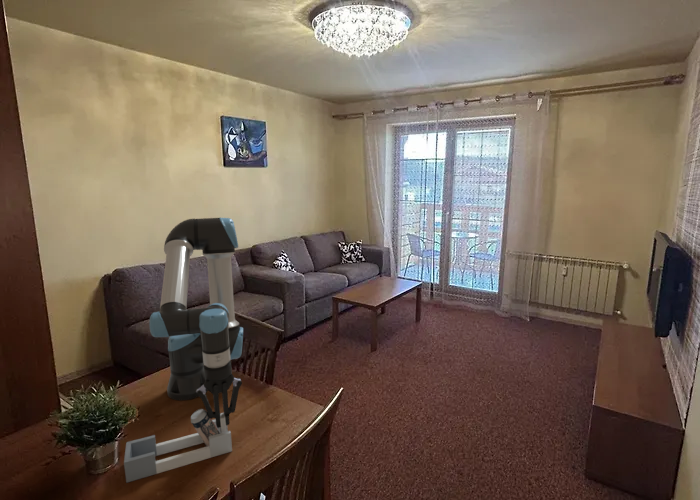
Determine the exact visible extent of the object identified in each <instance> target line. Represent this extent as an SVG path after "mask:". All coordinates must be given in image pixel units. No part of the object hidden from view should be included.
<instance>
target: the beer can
mask: <svg viewBox="0 0 700 500" xmlns="http://www.w3.org/2000/svg"><path fill="white" fill-rule="evenodd" d="M212 420H213V418H212V419H210V418H209V415H208V413H207V411H206V409H204V408H199V409H197V410H195V411H194V412H193V413H192V414H191V416H190V423H191V424H192V426H193V427H194V429H195V431H196V433H198V434H199V435H200V437H201V439H202V440H203V442H204V445H205V447H207V446H209V436H213V435H216V434H220V433H219V431H218V429H217V428H216V426H215V424H214V423H213V421H212Z"/></svg>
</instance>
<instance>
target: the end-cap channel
mask: <svg viewBox="0 0 700 500" xmlns="http://www.w3.org/2000/svg"><path fill="white" fill-rule="evenodd" d="M212 421H213V423H214V424H215V426H216V419H215V418H213V419H212ZM216 428H217V426H216ZM217 429H218V431H219V433H220V434H216V435H213V436H209V446H204V447H200V448H197V449H194V450H191V451H187V452H183V453H180V454H177V455H173V456H169V457H166V458H162V459H159V460H158V459H157V460H156V457H157V456H161V455H165V454H168V453H173V452H175V451H179V450H182V449H185V448H190V447H193V446H197V445H200V444H203V443H204V442H203V440H202V439H201V437H200V435H199V434H198V432H196V433H192V434H188V435H185V436H181V437H178V438H173V439H170V440H166V441H162V442H158V443H156V442H157V441H156V435H155V434H152V435H149V436H145V437H142V438H138V439H134V440H129V441H127V442H126V444H125V450H124V451H125V452H124V457H123V458H124V460H123V468H124V474H125V482H126V484H127V483H130V482H131V483H132V482H134V481H137V480H141V479H143V478H147V477H150V476H153V475H158V474H160V473H163V472H167V471H170V470H174V469H177V468H180V467H184V466H187V465H190V464H193V463H197V462H201V461H204V460H207V459H211V458H213V457H217V456H222V455H225V454H227V453H231V452H233V445H232V444H233V443H232V432H231V430H228V425H226V432H223V433H221V430H220V427H219V428H217ZM204 444H205V443H204Z"/></svg>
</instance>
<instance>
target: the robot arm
mask: <svg viewBox="0 0 700 500" xmlns="http://www.w3.org/2000/svg"><path fill="white" fill-rule="evenodd" d="M238 248H239V243H238V238H237V232H236V227H235V222H234V220H233V219H232V218H229V217H210V218H209V217H208V218H207V217H206V218H205V217H204V218H187V219H185V220H183V221H180V222H179V223H177V225H175V226H174V228H172V229H171V230H170V232H169V234H167V236H166V238H165V241H164V245H163V252H164V254H165V255H166V257H165V263H164V264H165V265H164V272H163V281H162V287H161V288H162V289H161V297H160V306H159V311H154V312H152V313H151V315H150V316H149V321H148V322H149V324H148V325H149V331H150V335H151V336H152V337H154V338H168V340H167V351H168V359H169V369H170V370H169V371H170V376H169V380H168V383H167V388H166V390H167V396H168V398H170V399H172V400H173V401H188V400H193V399H197V398H200V399H201V401H202V403H203V405H204V408H205V410H206V411H207V413H208V415H209V418H210V419H212V420H213V419H216V426H217V428H219V427H220V430H221V433H223V432H226V425H227V426H229V425H230V414H231V413H232V414H233V413H235V411H236V409H237V408H236V407H237V402H238V396H239V390H240V389H241V386H242V384H243V382H242V380H241V378H240V377H237V378H236V377H235V376H234V375H233V369H232V361H231V360H236V359H239V358H241V357H242V352H243V340H244V327H242V326H240V322H239V321H237V320H236V317H235V316H236V315H235V301H234V298H235V297H234V286H233V285H234V282H233V267H232V258H233V255H234V254H235V253H236V249H238ZM201 250H202V255H203V256H204V258H205V259H206V260H207V262H206V263H207V275H208V292H209V293H208V294H209V305H208V306H207V307H198V308H188V309H187V307H188V306H187V303H188V291H189V276H190V260H191V259H190V258H191V256H192V255H193V254H194V251H201ZM231 386H232V392H231V397H230V401H229V399H228V390H229V389H230V387H231ZM208 391H209V392H210V393H211V394H212V395H213V396H212V398H213V407H214V411H213V409H212V406H211V405H210V403H209V399H208V397H207V395H206V393H207V392H208ZM219 394H221V397H222V407H223V409H222V411H223V412H221V411H220V409H221V408H220V400H219V399H220V397H219ZM229 402H230V403H229Z"/></svg>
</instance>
